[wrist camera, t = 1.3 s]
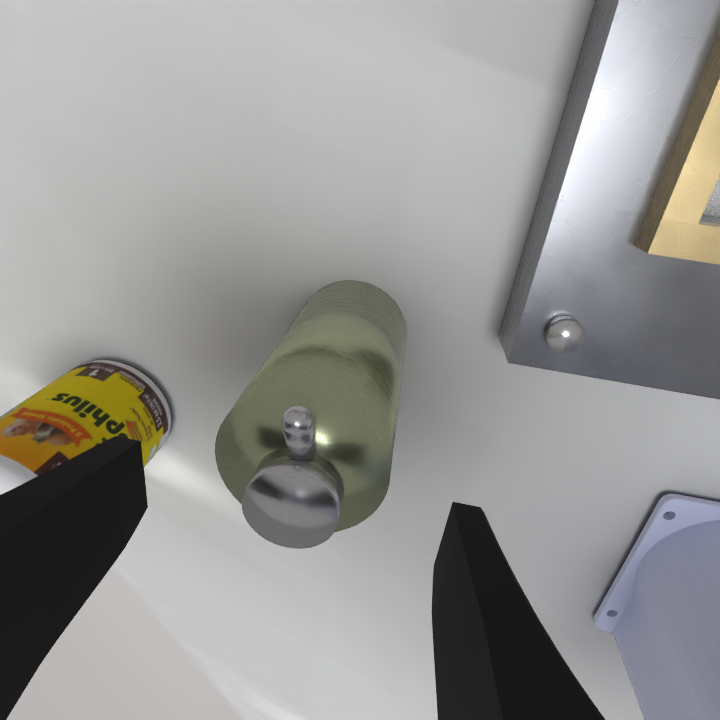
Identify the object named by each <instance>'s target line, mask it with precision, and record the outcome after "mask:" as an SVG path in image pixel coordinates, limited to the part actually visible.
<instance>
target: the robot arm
mask: <svg viewBox="0 0 720 720" xmlns="http://www.w3.org/2000/svg"><path fill="white" fill-rule="evenodd" d="M147 507H148V505H147V496H146V486H145V476H144V466H143V457H142V447H141V441H139V440H134V439H129V438H124V437H118V436H115V437H113V438H110V439H108V440H106V441H104V442H102V443H100V444H98V445H96V446H94V447H92V448H90V449H88V450H87V451H85V452H83V453H81V454H79V455H77V456H75V457H73V458H71V459H70V460H68V461H66V462H64V463H62V464H60V465H58V466H56V467H54V468H52V469H50V470H49V471H47V472H45V473H43V474H41V475H39V476H37V477H35V478H33V479H31V480H29V481H27V482H25V483H23V484H22V485H20V486H18V487H16V488H14V489H12V490H10V491H7V492H5V493H3V494H1V495H0V720H6V719H7V717H8V716H9V714H10V712H11V711H12V709H13V708H14V706H15V704H16V703H17V701H18V699H19V698H20V696H21V695H22V693H23V691H24V690H25V688H26V686H27V685H28V683H29V682H30V680H31V678H32V677H33V675H34V673H35V672H36V670H37V668H38V667H39V665H40V664H41V662H42V661H43V660H44V658H45V657H46V655H47V654H48V652H49V651H50V649H51V648H52V646H53V645H54V644H55V642H56V641H57V639H58V638H59V637H60V635H61V634H62V633H63V631H64V630H65V629H66V627H67V626H68V624H69V623H70V622H71V620H72V619H73V618H74V616H75V615H76V614H77V612H78V611H79V610H80V608H81V607H82V606H83V604H84V603H85V601H86V600H87V599H88V598H89V596H90V595H91V593H92V592H93V591H94V589H95V588H96V587H97V585H98V584H99V583H100V581H101V580H102V579H103V577H104V576H105V574H106V573H107V572H108V570H109V569H110V568H111V566H112V565H113V564H114V562H115V561H116V559H117V558H118V557H119V555H120V554H121V552H122V551H123V550H124V548H125V547H126V545H127V543H128V541H129V540H130V538H131V536H132V535H133V533H134V531H135V529H136V528H137V526H138V524H139V522H140V520H141V518H142V517H143V515H144V513H145V511H146V509H147ZM668 511H670V512H669V513H667V514H664V513H666V512H668ZM593 621H594V624H595V627H596V628H597V629H599V630H601V631H606V632H611V633H613V634H614V637H615V640H616V642H617V645H618V648H619V651H620V653H621V656H622V659H623V662H624V664H625V667H626V670H627V673H628V675H629V678H630V681H631V684H632V686H633V689H634V692H635V695H636V697H637V700H638V703H639V706H640V708H641V711H642V714H643V717H644V719H645V720H720V502H716V501H711V500H705V499H700V498H695V497H689V496H684V495H678V494H667V495H665V496H663V497H662V498H661V499H660V500H659V502H658V503H657V505H656V507H655V509H654V511H653V512H652V514H651V516H650V518H649V519H648V521H647V523H646V525H645V527H644V528H643V530H642V532H641V534H640V536H639V537H638V539H637V541H636V543H635V544H634V546H633V548H632V550H631V552H630V553H629V555H628V557H627V559H626V561H625V562H624V564H623V566H622V568H621V569H620V571H619V573H618V575H617V577H616V578H615V580H614V582H613V584H612V586H611V587H610V589H609V591H608V593H607V594H606V596H605V598H604V600H603V602H602V603H601V605H600V607H599V609H598V611H597V612H596V614H595V616H594V618H593ZM432 627H433V644H434V661H435V677H436V694H437V710H438V720H605V719H604V717H603V716H602V714H601V713H600V712H599V710H598V709H597V708H596V706H595V705H594V703H593V702H592V701H591V699H590V698H589V696H588V695H587V693H586V692H585V690H584V689H583V688H582V686H581V685H580V683H579V682H578V680H577V679H576V677H575V676H574V674H573V673H572V671H571V670H570V668H569V667H568V665H567V664H566V662H565V661H564V659H563V658H562V656H561V654H560V653H559V651H558V650H557V648H556V647H555V645H554V643H553V642H552V640H551V638H550V637H549V635H548V633H547V632H546V630H545V629H544V627H543V625H542V624H541V622H540V620H539V619H538V617H537V615H536V613H535V612H534V610H533V608H532V606H531V605H530V603H529V601H528V599H527V597H526V596H525V594H524V592H523V590H522V588H521V586H520V585H519V583H518V581H517V579H516V577H515V575H514V574H513V572H512V570H511V568H510V566H509V564H508V562H507V560H506V558H505V556H504V554H503V552H502V550H501V548H500V546H499V544H498V542H497V540H496V537H495V535H494V533H493V531H492V529H491V527H490V524H489V522H488V520H487V518H486V516H485V513H484V512H483V510H482V509H481V507H476V506H471V505H466V504H461V503H456V502H453V503H452V506H451V510H450V513H449V516H448V520H447V523H446V527H445V530H444V533H443V537H442V540H441V543H440V547H439V550H438V553H437V557H436V560H435V564H434V574H433V593H432Z"/></svg>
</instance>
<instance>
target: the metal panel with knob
mask: <svg viewBox="0 0 720 720" xmlns="http://www.w3.org/2000/svg"><path fill="white" fill-rule="evenodd" d="M719 176H720V0H596V1H595V4H594V8H593V11H592V15H591V18H590V22H589V25H588V29H587V32H586V36H585V39H584V42H583V46H582V49H581V53H580V56H579V60H578V63H577V67H576V70H575V74H574V77H573V81H572V84H571V87H570V91H569V94H568V98H567V101H566V105H565V108H564V112H563V115H562V119H561V122H560V126H559V129H558V132H557V136H556V139H555V143H554V146H553V150H552V153H551V157H550V160H549V164H548V167H547V171H546V174H545V177H544V181H543V184H542V188H541V191H540V195H539V198H538V202H537V205H536V209H535V212H534V216H533V219H532V222H531V226H530V229H529V233H528V236H527V240H526V243H525V247H524V250H523V254H522V257H521V261H520V264H519V267H518V271H517V274H516V278H515V281H514V285H513V288H512V292H511V295H510V299H509V302H508V306H507V309H506V312H505V316H504V319H503V323H502V326H501V330H500V333H499V338H500V341H501V344H502V347H503V350H504V353H505V356H506V359H507V362H508V363H513V364H518V365H524V366H530V367H536V368H542V369H547V370H553V371H559V372H565V373H570V374H576V375H582V376H588V377H593V378H599V379H605V380H611V381H617V382H622V383H628V384H634V385H640V386H645V387H651V388H657V389H663V390H669V391H674V392H680V393H686V394H692V395H697V396H703V397H709V398H715V399H720V217H714V216H708V215H702V214H703V212H704V210H705V207H706V205H707V203H708V201H709V198H710V196H711V194H712V192H713V190H714V187H715V185H716V183H717V181H718V178H719Z"/></svg>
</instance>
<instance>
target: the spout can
mask: <svg viewBox="0 0 720 720" xmlns="http://www.w3.org/2000/svg"><path fill="white" fill-rule="evenodd" d="M405 343H406V325H405V320H404V317H403V315H402V313H401V310H400V309H399V307H398V306H397V304H396V303H395V302H394V300H393V299H392V298H391V297H390V296H389V295H388V294H386V293H385V292H384V291H382V290H381V289H379V288H377V287H375V286H373V285H370V284H368V283H364V282H360V281H341V282H336V283H333V284H330V285H328V286H326V287H324V288H322V289H321V290H319V291H318V292H317V293H315V294H314V295H313V296H312V297H311V299H310V300H309V301H308V303H307V304H306V305H305V307H304V308H303V310H302V311H301V312H300V314H299V315H298V317H297V318H296V319H295V321H294V322H293V324H292V325H291V326H290V328H289V329H288V331H287V332H286V333H285V335H284V336H283V338H282V339H281V340H280V342H279V343H278V345H277V346H276V348H275V349H274V350H273V352H272V353H271V355H270V356H269V357H268V359H267V360H266V362H265V363H264V364H263V366H262V367H261V369H260V370H259V371H258V373H257V374H256V376H255V377H254V378H253V380H252V381H251V383H250V384H249V385H248V387H247V388H246V390H245V391H244V392H243V394H242V395H241V397H240V398H239V400H238V401H237V402H236V404H235V405H234V407H233V408H232V409H231V411H230V412H229V414H228V415H227V416H226V418H225V419H224V421H223V423H222V424H221V426H220V429H219V431H218V434H217V438H216V444H215V455H216V462H217V466H218V470H219V472H220V475H221V477H222V479H223V481H224V483H225V485H226V486H227V488H228V489H229V491H230V492H231V493H232V495H233V496H234V497H235V498H236V499H237V500H238V501H239V502H240V503H241V504H242V510H243V514H244V516H245V518H246V520H247V522H248V523H249V525H250V526H251V527H252V528H253V529H254V531H256V532H257V533H258V534H259V535H260V536H262V537H263V538H265V539H266V540H268V541H270V542H272V543H274V544H277V545H280V546H284V547H289V548H310V547H314V546H317V545H319V544H321V543H323V542H325V541H326V540H327V539H329V538H330V536H331V535H332V534H333V533H334V532H337V531H341V530H344V529H347V528H350V527H352V526H355V525H357V524H359V523H360V522H362V521H364V520H365V519H366V518H368V517H369V516H370V515H372V514H373V513H374V512H375V510H376V509H377V508H378V507H379V506H380V504H381V503H382V501H383V499H384V497H385V495H386V493H387V490H388V486H389V481H390V472H391V464H392V455H393V446H394V438H395V429H396V421H397V412H398V403H399V395H400V386H401V377H402V369H403V360H404V352H405Z"/></svg>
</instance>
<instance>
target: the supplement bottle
mask: <svg viewBox="0 0 720 720" xmlns="http://www.w3.org/2000/svg"><path fill="white" fill-rule="evenodd" d="M170 427H171V415H170V410H169V406H168V404H167V401H166V399H165V397H164V396H163V394H162V392H161V391H160V390H159V388H158V387H157V386H156V385H155V384H154V383H153V382H152V381H151V380H150V379H149V378H148V377H147V376H145V375H144V374H143V373H141V372H140V371H138V370H136V369H134V368H133V367H131V366H128V365H126V364H123V363H120V362H115V361H109V360H96V361H90V362H87V363H84V364H81V365H79V366H77V367H75V368H74V369H72V370H70V371H69V372H68V373H66V374H65V375H63V376H62V377H60V378H59V379H57V380H55V381H54V382H52V383H51V384H49V385H48V386H46V387H45V388H43V389H42V390H40V391H39V392H37V393H36V394H34V395H33V396H31V397H30V398H28V399H26V400H25V401H23V402H22V403H20V404H19V405H17V406H16V407H14V408H13V409H11V410H10V411H8V412H7V413H5V414H4V415H2V416H0V495H1V494H3V493H5V492H7V491H10V490H12V489H14V488H16V487H18V486H20V485H22V484H23V483H25V482H27V481H29V480H31V479H33V478H35V477H37V476H39V475H41V474H43V473H45V472H47V471H49V470H50V469H52V468H54V467H56V466H58V465H60V464H62V463H64V462H66V461H68V460H70V459H71V458H73V457H75V456H77V455H79V454H81V453H83V452H85V451H87V450H88V449H90V448H92V447H94V446H96V445H98V444H100V443H102V442H104V441H106V440H108V439H110V438H113V437H115V436H118V437H124V438H129V439H134V440H139V441H141V447H142V457H143V466H144V467H145V465H146V464H147V463H148V462H149V461H150V460H151V458H152V457H153V456H154V455H155V454H156V453H157V451H158V450H159V449H160V448H161V447H162V445H163V444H164V442H165V441H166V439H167V437H168V435H169V432H170Z"/></svg>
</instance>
